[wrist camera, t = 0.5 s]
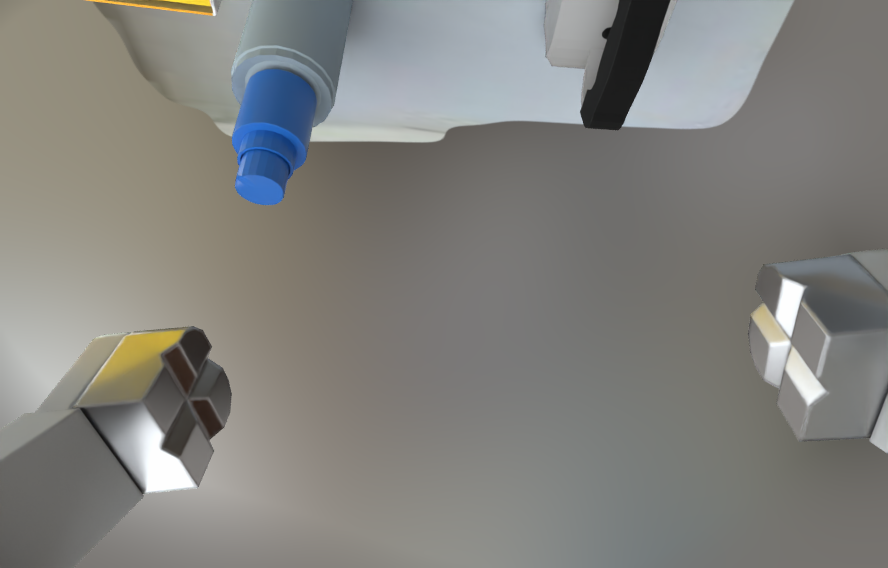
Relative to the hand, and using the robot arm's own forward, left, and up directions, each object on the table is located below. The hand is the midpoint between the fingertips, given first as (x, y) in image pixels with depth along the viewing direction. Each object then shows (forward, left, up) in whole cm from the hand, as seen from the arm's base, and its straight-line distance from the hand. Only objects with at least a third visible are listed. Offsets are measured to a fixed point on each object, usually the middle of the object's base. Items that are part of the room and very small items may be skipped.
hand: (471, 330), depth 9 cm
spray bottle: (+18, -27, -50) cm, 59 cm away
